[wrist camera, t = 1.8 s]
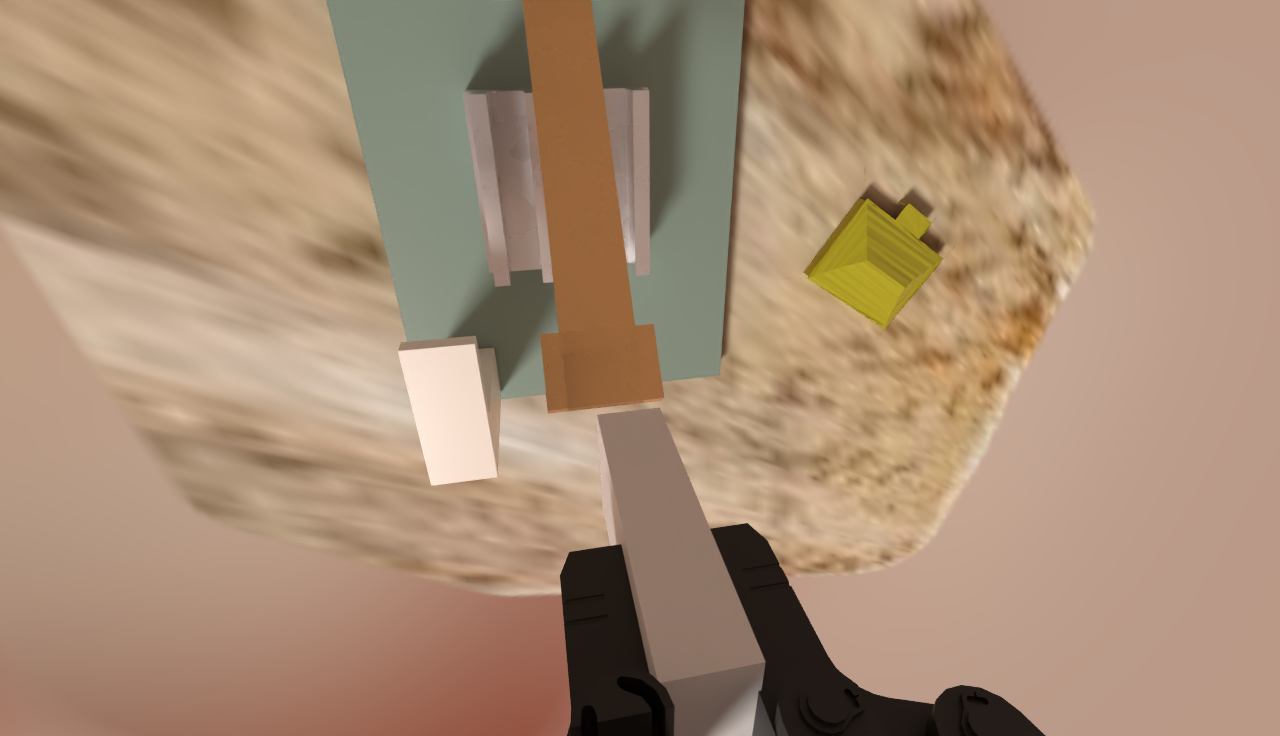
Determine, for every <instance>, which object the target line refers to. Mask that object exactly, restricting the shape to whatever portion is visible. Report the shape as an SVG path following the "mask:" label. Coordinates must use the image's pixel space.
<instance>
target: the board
mask: <svg viewBox="0 0 1280 736" xmlns="http://www.w3.org/2000/svg"><path fill="white" fill-rule="evenodd" d="M326 1H327V5H328V9H329V14H330V18H331V22H332V26H333V30H334V35H335V39H336V43H337V47H338V51H339V56H340V60H341V64H342V68H343V73H344V77H345V81H346V85H347V89H348V94H349V98H350V102H351V106H352V110H353V115H354V119H355V123H356V127H357V131H358V136H359V140H360V144H361V148H362V153H363V157H364V161H365V165H366V169H367V174H368V178H369V182H370V186H371V190H372V195H373V199H374V203H375V207H376V211H377V216H378V220H379V224H380V228H381V233H382V237H383V241H384V245H385V249H386V254H387V258H388V262H389V266H390V270H391V275H392V279H393V283H394V287H395V291H396V296H397V300H398V304H399V308H400V313H401V317H402V321H403V325H404V329H405V334H406V338H407V342H411V341H422V340H433V339H444V338H455V337H466V336H476V339H477V345H478V349H483V348H493V347H494V351H495V357H496V364H497V370H498V376H499V383H500V389H501V399H508V398H517V397H526V396H536V395H545V394H546V389H545V379H544V370H543V360H542V350H541V341H540V334H549V333H559V330H558V321H557V312H556V303H555V294H554V284H553V282H549V283H543V276H542V269H536V270H523V271H511V286H498V287H495V281H494V274H493V273H489V268H488V262H487V255H486V248H485V241H484V235H483V228H482V221H481V215H480V208H479V201H478V194H477V188H476V181H475V174H474V167H473V161H472V154H471V147H470V141H469V134H468V127H467V120H466V114H465V107H464V100H463V93H462V92H463V91H464V90H468V89H513V88H532V85H531V76H530V67H529V58H528V49H527V40H526V30H525V21H524V12H523V3H522V0H326ZM591 3H592V11H593V18H594V25H595V33H596V40H597V48H598V55H599V62H600V70H601V77H602V84H603V86H643V87H647V88H648V90H649V156H650V275H639V276H635V274H634V272H633V270H632V268H631V266H630V265H629V263H627V268H628V276H629V283H630V291H631V298H632V305H633V313H634V320H635V326H636V325H647V324H654V329H655V336H656V343H657V351H658V358H659V365H660V372H661V379H662V382H663V381H672V380H681V379H690V378H699V377H708V376H718V375H720V366H721V351H722V336H723V321H724V306H725V291H726V276H727V261H728V246H729V230H730V215H731V200H732V185H733V170H734V155H735V140H736V125H737V110H738V95H739V80H740V65H741V50H742V35H743V20H744V5H745V0H591Z"/></svg>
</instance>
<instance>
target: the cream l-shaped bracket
mask: <svg viewBox="0 0 1280 736" xmlns="http://www.w3.org/2000/svg"><path fill="white" fill-rule="evenodd" d="M398 354H399V358H400V362H401V366H402V370H403V374H404V378H405V382H406V386H407V390H408V394H409V398H410V402H411V406H412V410H413V414H414V418H415V422H416V426H417V430H418V434H419V438H420V442H421V446H422V450H423V454H424V458H425V462H426V466H427V470H428V474H429V478H430V482H431V486H432V485H440V484H447V483H455V482H463V481H470V480H478V479H485V478H493V477H498V457H499V432H500V406H501V389H500V383H499V376H498V370H497V364H496V357H495V351H494V347H493V348H483V349H478V345H477V339H476V336H466V337H455V338H444V339H433V340H422V341H411V342H401V344H400V347H399V350H398Z"/></svg>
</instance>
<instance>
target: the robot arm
mask: <svg viewBox="0 0 1280 736" xmlns="http://www.w3.org/2000/svg"><path fill="white" fill-rule="evenodd" d="M597 424H598V441H599V458H600V475H601V491H602V505H603V511H604V516H605V521H606V526H607V531H608V536H609V541H610V546H606V547H600V548H593V549H587V550H580V551H574V552H569V554H568V557H567V559H566V562H565V564H564V567H563V569H562V572H561V574H560V581H561V592H562V604H563V616H564V627H565V640H566V651H567V663H568V675H569V686H570V698H571V723H570V727H569V731H568V734H567V736H1045V735H1044V734H1043V733H1042V732H1041V731H1040V730H1039V729H1038V728H1037V727H1036V726H1035V725H1034V724H1032V722H1031V721H1029V720H1028V719H1027V718H1026V717H1025V716H1024V715H1023V714H1022V713H1021V712H1020V711H1019V710H1017V709H1016V708H1015V707H1013V706H1012V705H1011V704H1009V703H1008V702H1007V701H1006V700H1004V699H1003V698H1002V697H1000V696H998V695H995V694H993V693H991V692H989V691H987V690H984V689H982V688H979V687H972V686H964V685H960V686H956V687H953V688H949V689H946V690H945V691H944V692H943V693H942V694H941V695H940V696H939V697H938V698H937V699H936V701H935V704H929V703H922V702H915V701H908V700H901V699H893V698H888V697H883V696H880V695H876V694H873V693H871V692H868V691H866V690H864V689H862V688H860V687H858V685H857V684H856V683H854V682H853V681H852V680H850V679H849V678H847V677H846V676H845V675H843V674H842V673H841V672H840V671H839V670H838V669H837V668H836V667H835V666H834V664H833V663H832V661H831V660H830V658H829V657H828V655H827V653H826V651H825V649H824V648H823V646H822V644H821V642H820V640H819V638H818V636H817V634H816V632H815V631H814V629H813V627H812V625H811V624H810V621H809V619H808V617H807V616H806V613H805V611H804V610H803V608H802V606H801V604H800V602H799V600H798V598H797V596H796V594H795V592H794V591H793V589H792V587H791V586H789V581H788V579H787V577H786V575H785V573H784V571H783V570H782V568H781V567H780V566H779V562H778V560H777V558H776V556H775V554H774V552H773V551H772V549H771V547H770V545H769V543H768V541H767V540H766V539H765V538H764V537H763V536H761V535H760V534H759V533H758V532H757V531H756V530H755V529H753V528H752V527H751V526H750V525H749V524H748V523H745V524H739V525H732V526H726V527H719V528H713V529H710V527H709V525H708V523H707V520H706V518H705V515H704V513H703V510H702V508H701V506H700V503H699V501H698V498H697V496H696V494H695V491H694V489H693V486H692V484H691V482H690V479H689V477H688V474H687V472H686V470H685V467H684V465H683V462H682V460H681V458H680V455H679V453H678V450H677V448H676V446H675V443H674V441H673V438H672V436H671V434H670V431H669V429H668V426H667V424H666V422H665V419H664V417H663V414H662V412H661V410H660V408H653V409H644V410H636V411H627V412H618V413H610V414H601V415H597Z"/></svg>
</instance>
